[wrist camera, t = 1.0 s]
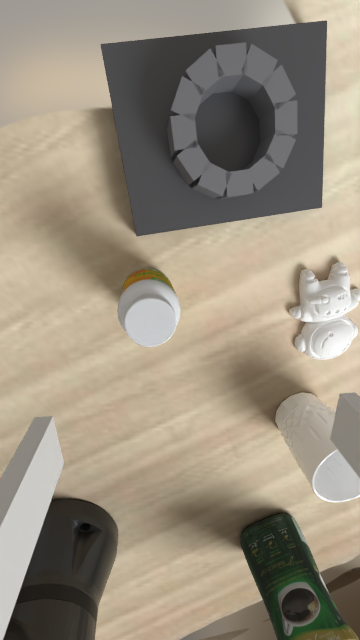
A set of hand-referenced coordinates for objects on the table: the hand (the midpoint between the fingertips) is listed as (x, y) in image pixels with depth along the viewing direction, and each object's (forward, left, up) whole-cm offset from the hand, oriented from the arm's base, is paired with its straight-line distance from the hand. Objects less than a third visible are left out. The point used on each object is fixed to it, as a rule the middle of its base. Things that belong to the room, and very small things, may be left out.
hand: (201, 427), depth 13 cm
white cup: (+15, -18, -20) cm, 31 cm away
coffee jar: (+10, -40, -20) cm, 46 cm away
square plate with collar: (+7, +15, -20) cm, 26 cm away
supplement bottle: (-2, +2, -20) cm, 20 cm away
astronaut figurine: (+19, -4, -20) cm, 28 cm away
